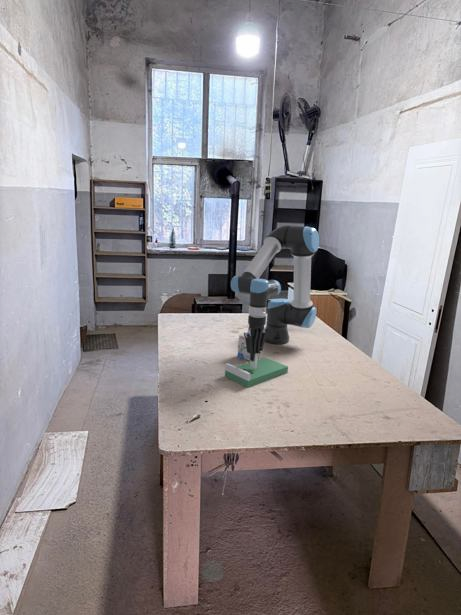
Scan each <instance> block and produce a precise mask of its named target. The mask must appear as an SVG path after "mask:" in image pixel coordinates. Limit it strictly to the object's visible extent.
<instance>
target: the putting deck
mask: <svg viewBox="0 0 461 615" xmlns="http://www.w3.org/2000/svg"><path fill="white" fill-rule="evenodd" d="M250 362H251V361H249V362H246V363H243V364H240V365H237V366H235V365H232V364H230V363H229V362H227V363H225V364H224V365H225V367H224V368H225V369H224V378H227V379H229V380H232V381H233V382H235V383H238V384H240V385H242V386H243V387H246V388H250V387H253V386H255V385H258V384H261V383H263V382H266V381H268V380H272V379H275V378H277V377H280V376H283V375H285V374H288V373H289V372H288V371H289V366H288V365H285V364H284V363H280V362H278V361H276V360H274V359H270V358H268V357H262V358H258V361H257V368H253V367H250ZM244 370H245V371H244ZM246 371H247V372H246Z"/></svg>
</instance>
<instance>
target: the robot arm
mask: <svg viewBox="0 0 461 615" xmlns="http://www.w3.org/2000/svg"><path fill="white" fill-rule="evenodd" d="M319 245H320V236H319V233H318V231H317V229H316V228H314V227H310V226H303V225H300V226H299V225H289V224H287V225H285V224H284V225H281V226H278V227H276V228H275V229H274V230H272V231H271V232H269V233H268V234H267V235H266V237H265V238H264V240H263V245H262V246H261V247H260V249H259V250H258V251H257V253H256V254H255V256H254V257H253V258H252V260H251V261H250V262H249V264H248V265H247V267H246V268H245V269H244V271H243V272H242V273H241V274H240V275H234V276H233V277H232V278H231V280H230V288H231V291H232V292H235V293H238V294H243V295H249V303H248V304H249V305H248V320H247V323H248V326H249V327H248V329H247V330H248V331H247V332H243V333H244V336H245V339H246V348H247V352H248V353H250V360H251V361H250V360H249V362H250V367H253V368H257V361H258V359H259V354H261V353H262V352H261V351H263V349H264V344H265V343H268V344H274V345H283V344H284V345H285V344H287V343H289V342H290V335H289V330H288V325H289V326H294V327H299V328H302V329H303V328H305V329H310V328H311V327H312V326H313V324H314V323H315V320H316V318H317V317H316V316H317V311H318V310H317V307H315V306H313V305H314V304H313V301H312V300H311V281H312V280H311V278H312V276H311V275H312V272H311V271H312V257H313V256H314V255H315V253H316V252H317V251H318V249H319ZM284 249H287V250H290V255H291V257H293V300H290V299H289V298H275V297H277V296H278V295H280V293H281V291H282V287H281V286H282V285H281V284H280V282H279V281H278V280H275V279H269V280H267V279H264V278H260V277H261V276H262V274H263V273H264V271H265V270H266V269H267V267H268V266H269V264H270V263H271V261H272V260H273V258H274V257H275V256H276V254H278V253H279V252H281V250H284ZM272 298H274V299H272ZM269 299H271V300H269ZM268 300H269V301H268Z"/></svg>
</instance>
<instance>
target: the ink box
mask: <svg viewBox="0 0 461 615" xmlns="http://www.w3.org/2000/svg"><path fill="white" fill-rule="evenodd" d="M244 333H245V332H242V333H240V334H239V335H238V346H237V358H239V359H242V360H248V361H249V362H251V360H250V353H248V352H247V348H246V339H245V336H244Z"/></svg>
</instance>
